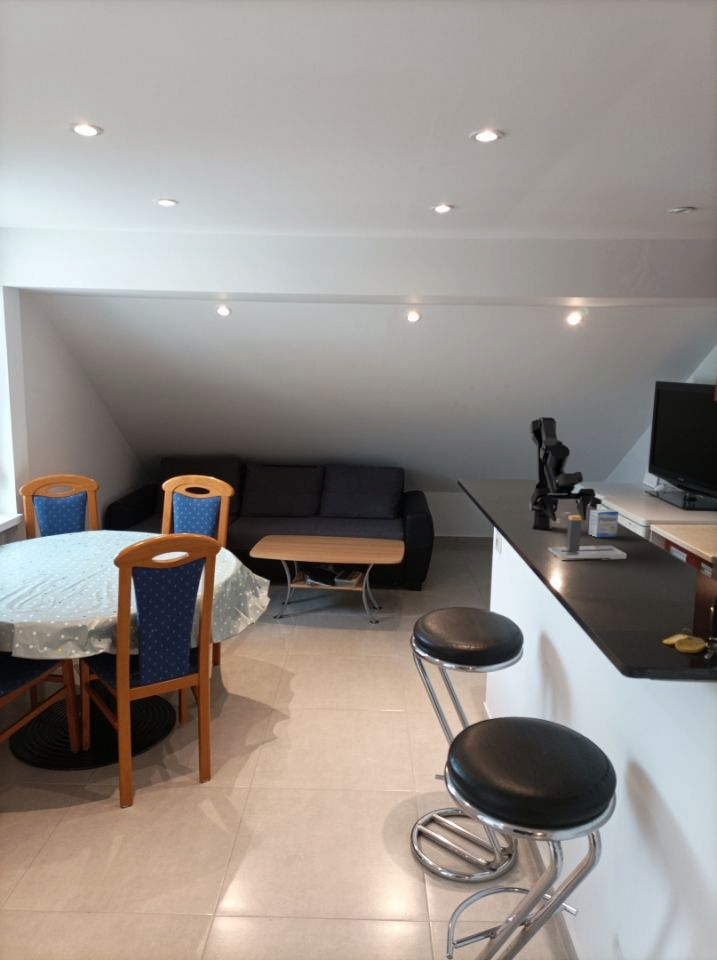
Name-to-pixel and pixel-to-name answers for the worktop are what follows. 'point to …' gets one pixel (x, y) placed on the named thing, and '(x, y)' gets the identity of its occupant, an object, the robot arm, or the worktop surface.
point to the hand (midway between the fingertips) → (570, 520)
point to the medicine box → (603, 523)
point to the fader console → (589, 552)
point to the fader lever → (573, 532)
